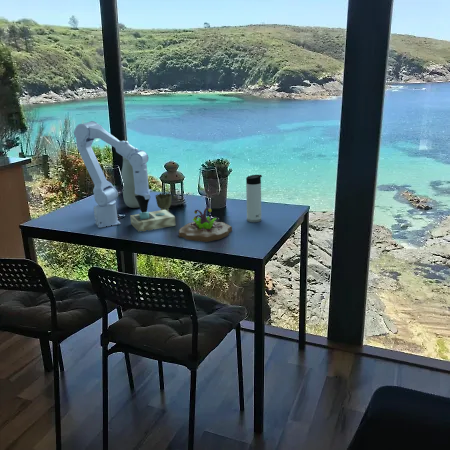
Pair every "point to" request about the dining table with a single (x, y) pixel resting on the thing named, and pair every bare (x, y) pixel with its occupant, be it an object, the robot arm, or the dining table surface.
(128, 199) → the pale grey bottle
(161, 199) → the cup
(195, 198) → the dining table surface
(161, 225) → the socket block
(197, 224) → the plant
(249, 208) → the travel mug
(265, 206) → the dining table surface
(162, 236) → the dining table surface
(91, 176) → the robot arm
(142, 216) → the peg
